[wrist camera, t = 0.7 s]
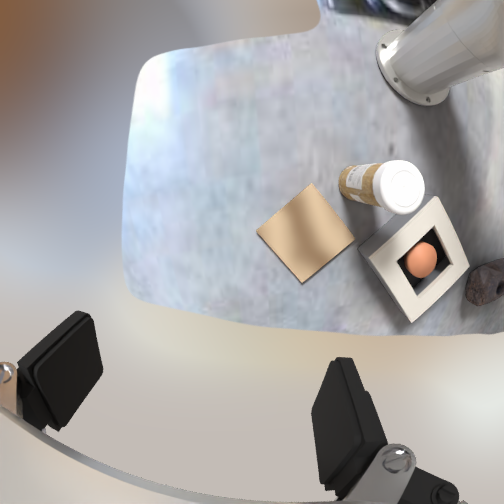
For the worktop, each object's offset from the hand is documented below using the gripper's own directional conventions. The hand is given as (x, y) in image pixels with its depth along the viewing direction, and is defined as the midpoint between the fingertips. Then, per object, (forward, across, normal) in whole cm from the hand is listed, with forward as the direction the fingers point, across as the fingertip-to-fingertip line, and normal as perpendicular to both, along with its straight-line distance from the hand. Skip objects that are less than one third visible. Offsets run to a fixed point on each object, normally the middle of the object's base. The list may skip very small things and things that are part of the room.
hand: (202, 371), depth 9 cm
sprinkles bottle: (+26, -12, -8) cm, 30 cm away
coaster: (+26, -7, 0) cm, 27 cm away
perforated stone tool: (+27, -42, 0) cm, 50 cm away
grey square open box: (+26, -23, 0) cm, 35 cm away
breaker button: (+24, -23, 0) cm, 33 cm away
